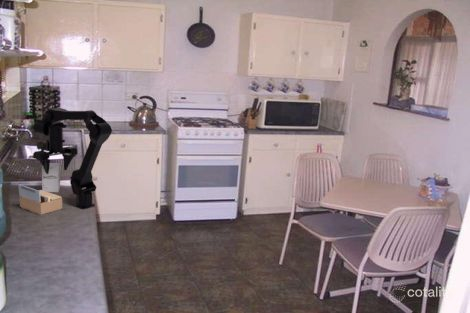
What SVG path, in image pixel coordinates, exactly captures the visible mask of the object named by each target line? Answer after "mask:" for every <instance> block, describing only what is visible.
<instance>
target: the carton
mask: <svg viewBox="0 0 470 313" xmlns="http://www.w3.org/2000/svg"><path fill="white" fill-rule="evenodd" d="M38 191H40V199H41V202H37V201H34V200H32V199H29V198H26V197H24V196H21V195H19V208H20V207H21V209H22V208H24V209H23V210H25V209H26V210H25V211H27V210H29V211H28V212H30V211H32V212H31V213H33V212H35V213H38V214H45V213H49V212H52V213H54V212H53V211H56V212H58V211H57V210H59V211H61V210H60V209H62V210H63V198H62V196H60V195H58V194H54V193H53V192H46V191H43V190H42V189H39V190H38ZM35 213H34V214H35ZM38 214H37V215H38ZM49 214H50V213H49ZM45 215H46V214H45Z"/></svg>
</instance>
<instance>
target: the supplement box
mask: <svg viewBox="0 0 470 313" xmlns="http://www.w3.org/2000/svg"><path fill="white" fill-rule="evenodd" d="M41 188H42V189H41V190H43V191H46V192H49V193H59V192H60V188H61V163H60V162H59V163H58V162H56V163H54V162H50V166H49V173H48V174H46V172H45V170H44V168H43V165H41Z"/></svg>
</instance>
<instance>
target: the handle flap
mask: <svg viewBox="0 0 470 313" xmlns="http://www.w3.org/2000/svg"><path fill="white" fill-rule="evenodd" d="M17 185H18V186H17V187H18V195H19V196H24V197H26V198H29V199H32V200H34V201H37V202H41V199H40V191H38V190H37V189H35V188H32V187H29V186H25V185H24V184H20V183H18V184H17Z"/></svg>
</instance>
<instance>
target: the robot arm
mask: <svg viewBox="0 0 470 313" xmlns="http://www.w3.org/2000/svg"><path fill="white" fill-rule="evenodd" d="M63 121H65V122H66V121H83V122H84V125H85V127H86V128H85V129H87V130H88V131H89V132H88V138H89V143H88V146H87V149H86V151H85V154H84V157H83V159H82V162H81V165H80V166H79V169H75V170H72V173H71V176H70V177H69V182H70V183H69V184H70V186H71V187H70V188H71V191H72V194H73V195H75V196H76V199H75V202H76V203H75V204H73V207H76V208H79V209H82V210H85V208H86V209H89V208H92V207H94V206H96V204H95V203H93V192H95V191H96V190H97V186H96V184H95V182H93V174H92V171H93V168H94V166H95V164H96V160H97V159H98V156H99V153H100V151H101V149H102V145H103V144H104V143H105V142H106V141H107V140H108V139H109V138H110V137H111V134H112V132H113V129H112V127H111V125H110V124H109V123H108V122H107V120H105V119H104V118H103V117H102V116H99V115H98V113H96V111H94V110H92V109H91V110H89V109H88V110H68V109H66V108H61V107H57V108H55V107H54V108H49V109H47V110H46V111H45V114H44V115H43V117H42V118H37V119H36V122H35V123H34V125H33V127H32V129H33V130H32V131H33V132H34V133H35V134H36V135H40V136H48V138H47V139H46V141H45V142H44V141H37V142H36V148H37V150H36V151H34V152H33V153H32V159H35V160H36V161H39V162H40V163H41V166H43V168H44V170H45V172H46V174H48V173H49V166H50V163H51V159H50V157H52V156H58V155H62V158H63V170H64V171H67V170H68V167H69V166H70V164H71V162H72V161H73V159H74V157H76V155H78V148H76V147H74V146H69V145H68V146H64V143H65V142H66V140H65V139H64V134H63V132H64V131H63V129H66V128H67V125H66V124H65V123H64V122H63Z"/></svg>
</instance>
